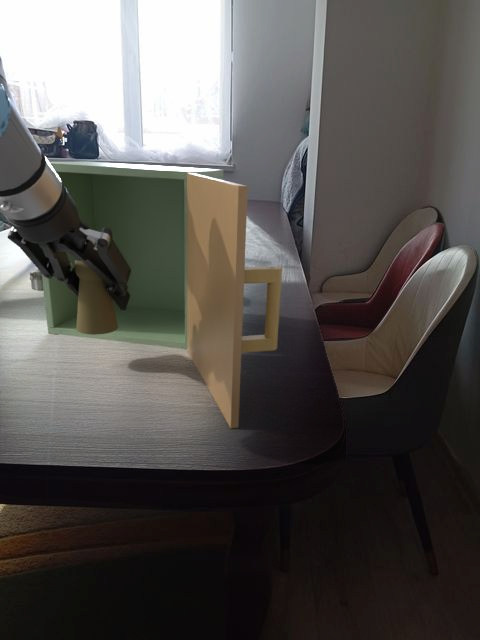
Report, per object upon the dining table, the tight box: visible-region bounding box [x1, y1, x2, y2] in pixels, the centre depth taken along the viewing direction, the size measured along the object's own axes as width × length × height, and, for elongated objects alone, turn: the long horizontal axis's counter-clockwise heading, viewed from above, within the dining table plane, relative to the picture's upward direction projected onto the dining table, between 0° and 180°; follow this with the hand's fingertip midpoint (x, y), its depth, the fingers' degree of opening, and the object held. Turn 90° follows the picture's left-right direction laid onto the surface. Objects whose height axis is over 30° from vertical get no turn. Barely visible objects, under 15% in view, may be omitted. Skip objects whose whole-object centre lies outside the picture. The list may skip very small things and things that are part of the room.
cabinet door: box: [186, 173, 283, 429], centre depth 70 cm, size 6×26×28 cm, turn 19°
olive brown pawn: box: [74, 260, 118, 335], centre depth 75 cm, size 6×6×11 cm
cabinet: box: [42, 161, 224, 350], centre depth 91 cm, size 18×26×28 cm
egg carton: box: [29, 269, 44, 291], centre depth 120 cm, size 11×8×4 cm
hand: (107, 300), depth 79 cm, fingers closed on olive brown pawn, 5 cm apart
